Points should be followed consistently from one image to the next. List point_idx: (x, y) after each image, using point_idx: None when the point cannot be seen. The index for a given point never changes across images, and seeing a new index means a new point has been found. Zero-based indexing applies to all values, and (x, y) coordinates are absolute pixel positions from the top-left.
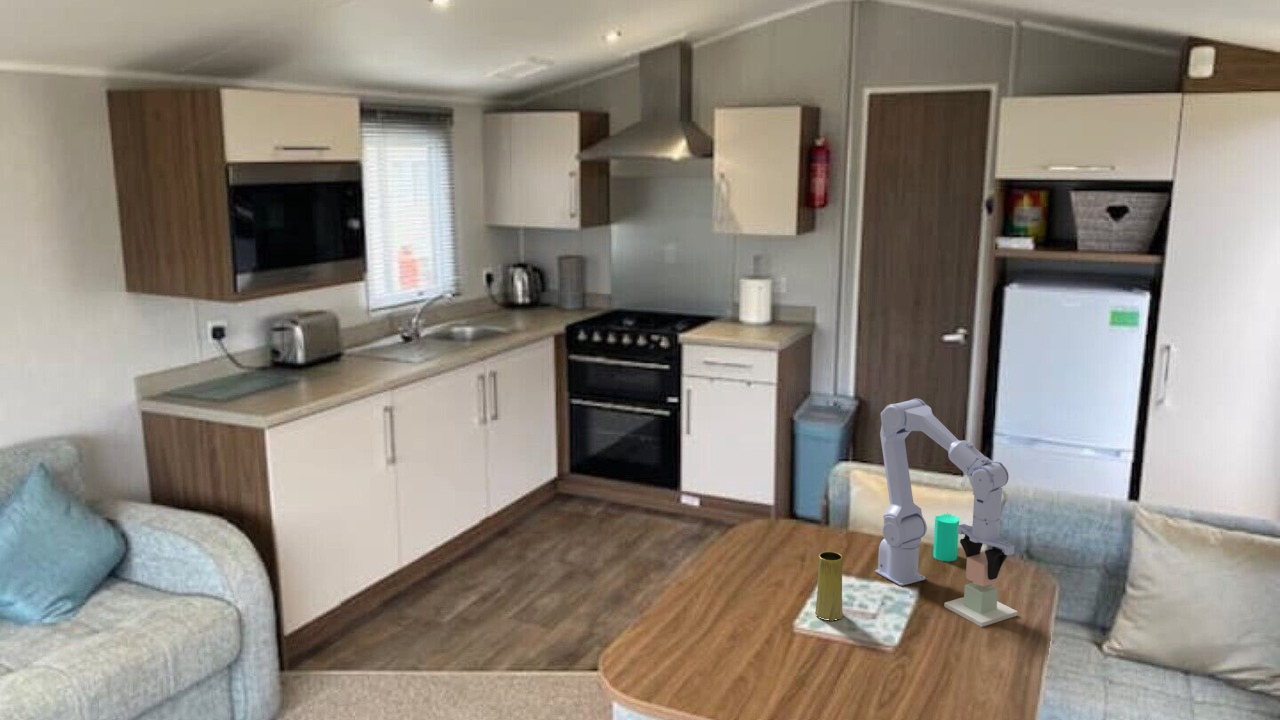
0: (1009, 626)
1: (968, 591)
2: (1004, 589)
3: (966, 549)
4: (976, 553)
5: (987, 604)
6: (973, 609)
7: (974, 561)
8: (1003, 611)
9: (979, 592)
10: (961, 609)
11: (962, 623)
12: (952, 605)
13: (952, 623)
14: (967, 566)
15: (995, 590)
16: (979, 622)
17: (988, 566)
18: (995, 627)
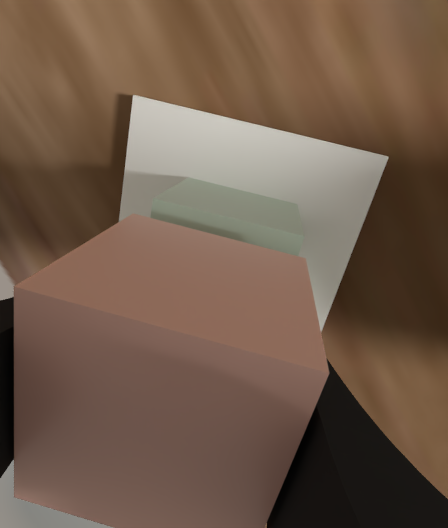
0: (77, 201)
1: (269, 219)
2: None
3: (395, 507)
4: (282, 520)
5: None
6: (232, 189)
7: (186, 327)
8: None
9: (173, 202)
10: (280, 152)
11: (221, 56)
12: (339, 159)
13: (257, 8)
14: (301, 303)
15: None
16: (148, 98)
17: (8, 322)
18: (103, 147)
